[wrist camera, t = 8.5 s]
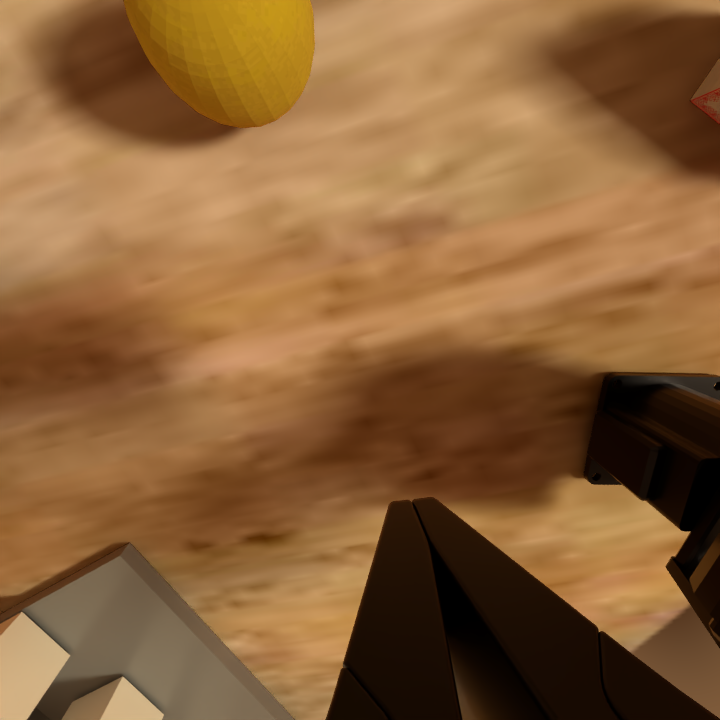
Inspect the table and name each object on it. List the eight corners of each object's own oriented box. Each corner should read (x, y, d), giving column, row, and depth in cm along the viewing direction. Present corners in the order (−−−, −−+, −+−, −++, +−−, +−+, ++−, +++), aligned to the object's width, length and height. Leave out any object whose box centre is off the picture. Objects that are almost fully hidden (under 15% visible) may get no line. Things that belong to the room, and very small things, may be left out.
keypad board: (129, 542, 23) (91, 594, 19) (297, 723, 27) (290, 790, 24) (-37, 634, 24) (-100, 697, 21) (149, 791, 29) (123, 863, 25)
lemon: (339, 124, 17) (334, 20, 9) (223, 168, 17) (123, 103, 10) (292, -24, 15) (239, -295, 8) (166, 28, 16) (-5, -183, 8)
